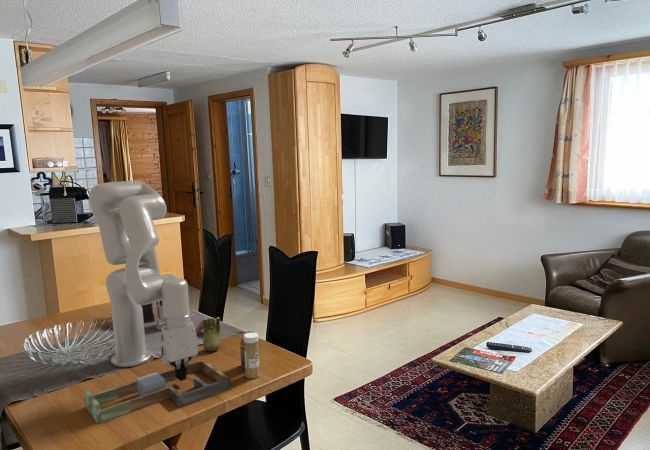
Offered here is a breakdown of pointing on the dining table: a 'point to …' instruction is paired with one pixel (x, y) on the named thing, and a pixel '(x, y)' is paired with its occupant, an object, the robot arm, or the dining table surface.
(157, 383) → the block
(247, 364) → the sprinkles bottle
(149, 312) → the brown storage container
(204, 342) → the fennel bulb
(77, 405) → the dining table surface
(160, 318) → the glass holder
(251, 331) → the supplement bottle
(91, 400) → the box
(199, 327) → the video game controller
